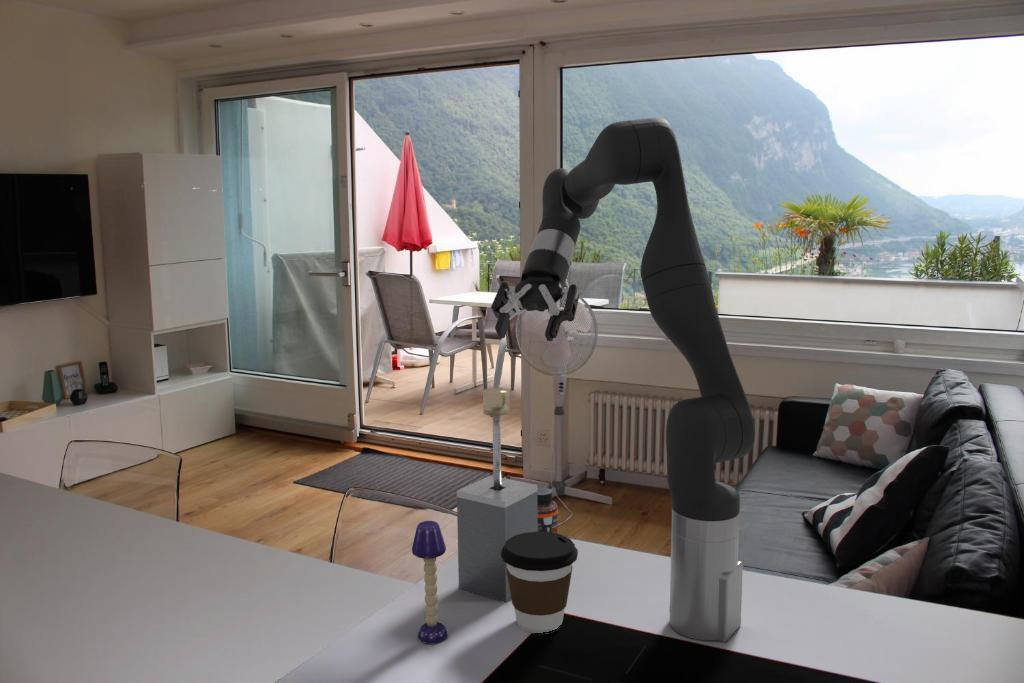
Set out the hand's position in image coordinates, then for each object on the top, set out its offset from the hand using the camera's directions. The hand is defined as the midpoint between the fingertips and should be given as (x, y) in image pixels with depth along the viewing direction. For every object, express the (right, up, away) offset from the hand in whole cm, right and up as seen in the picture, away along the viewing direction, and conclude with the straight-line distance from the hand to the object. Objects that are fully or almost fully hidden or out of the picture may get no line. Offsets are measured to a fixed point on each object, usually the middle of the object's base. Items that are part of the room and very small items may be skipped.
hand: (524, 336), depth 140 cm
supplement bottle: (+3, -38, +8) cm, 39 cm away
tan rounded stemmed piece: (-4, -26, -6) cm, 27 cm away
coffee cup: (+2, -42, -17) cm, 45 cm away
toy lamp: (-13, -42, -21) cm, 49 cm away
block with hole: (-4, -39, -4) cm, 40 cm away
